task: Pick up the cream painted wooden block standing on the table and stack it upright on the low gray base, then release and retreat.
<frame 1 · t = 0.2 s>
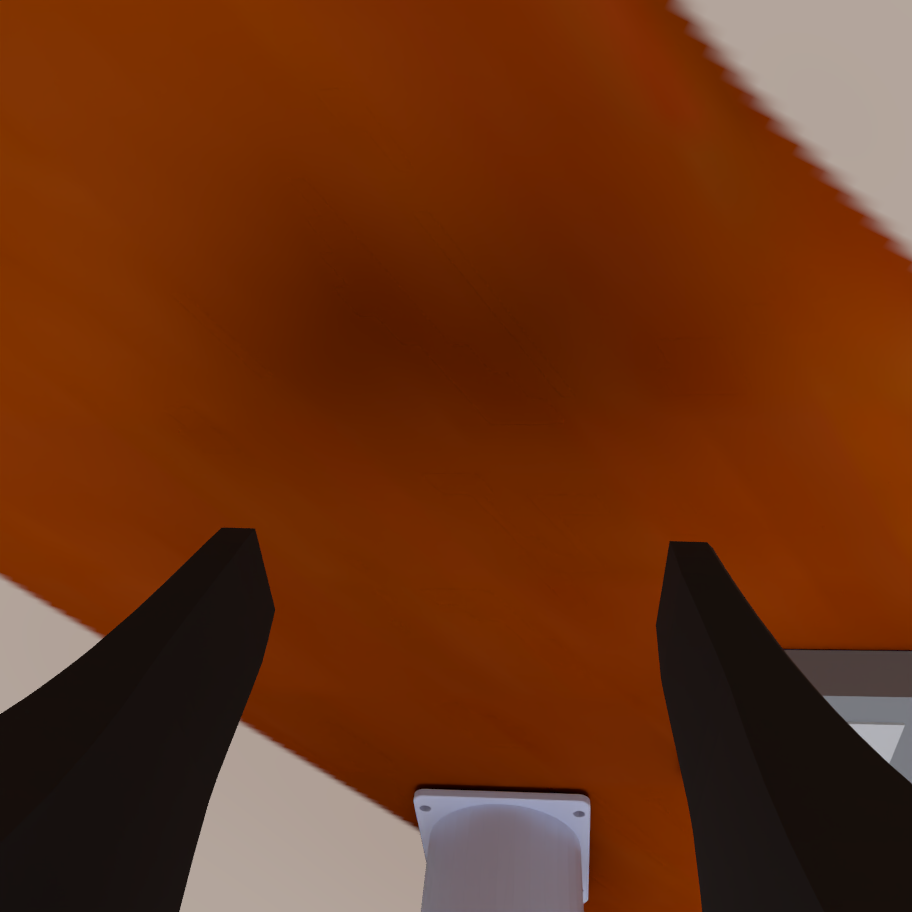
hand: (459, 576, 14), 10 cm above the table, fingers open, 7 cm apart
gray base: (797, 717, 30), on the table
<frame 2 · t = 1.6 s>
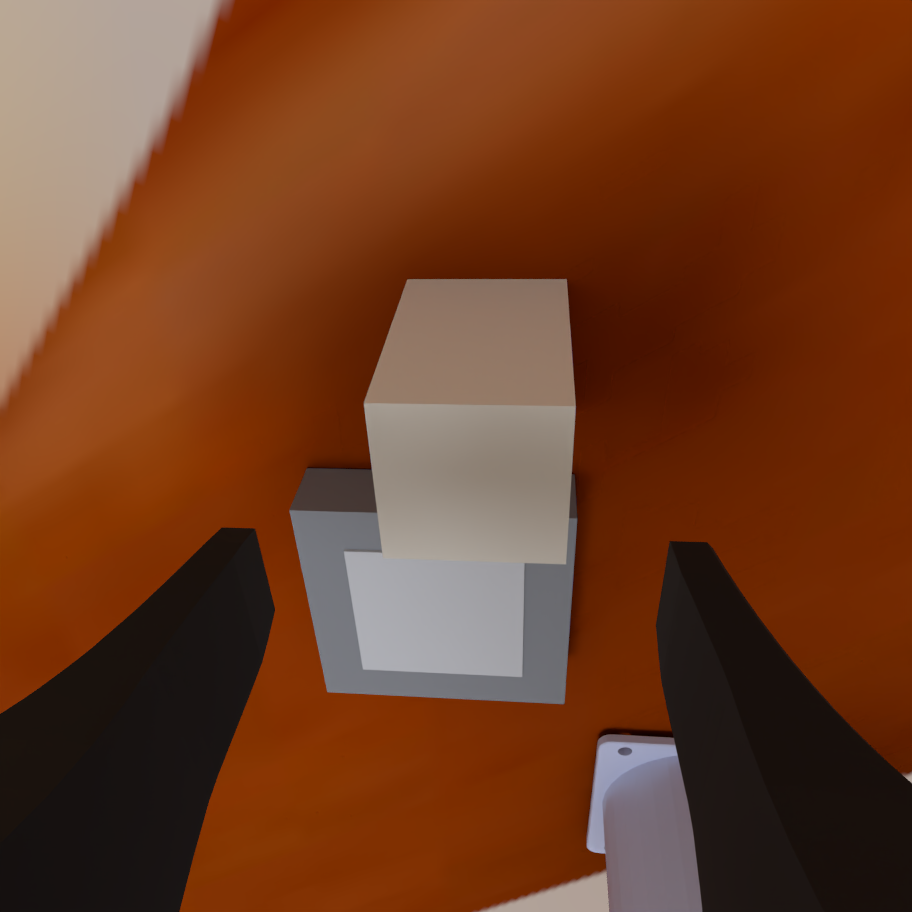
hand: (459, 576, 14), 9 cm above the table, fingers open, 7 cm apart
gray base: (444, 569, 25), on the table
cream block: (487, 350, 21), on the table
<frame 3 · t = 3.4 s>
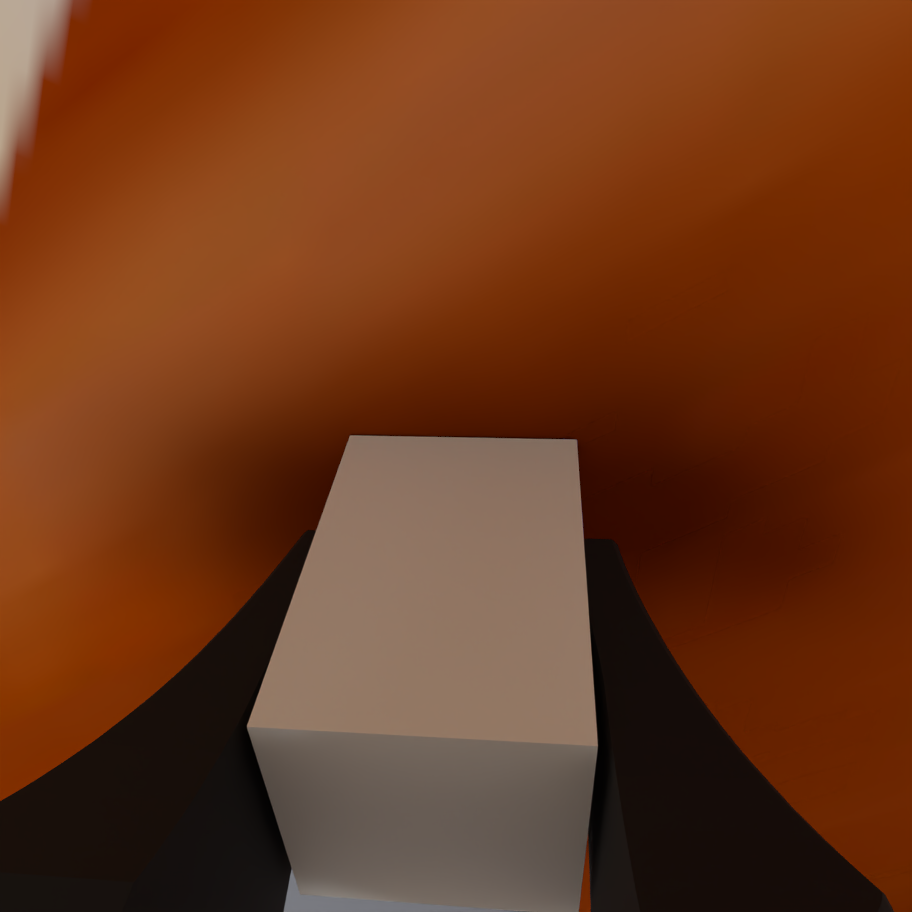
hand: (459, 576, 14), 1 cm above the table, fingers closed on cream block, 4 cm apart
gray base: (415, 764, 20), on the table
cream block: (465, 524, 15), on the table, touching gripper
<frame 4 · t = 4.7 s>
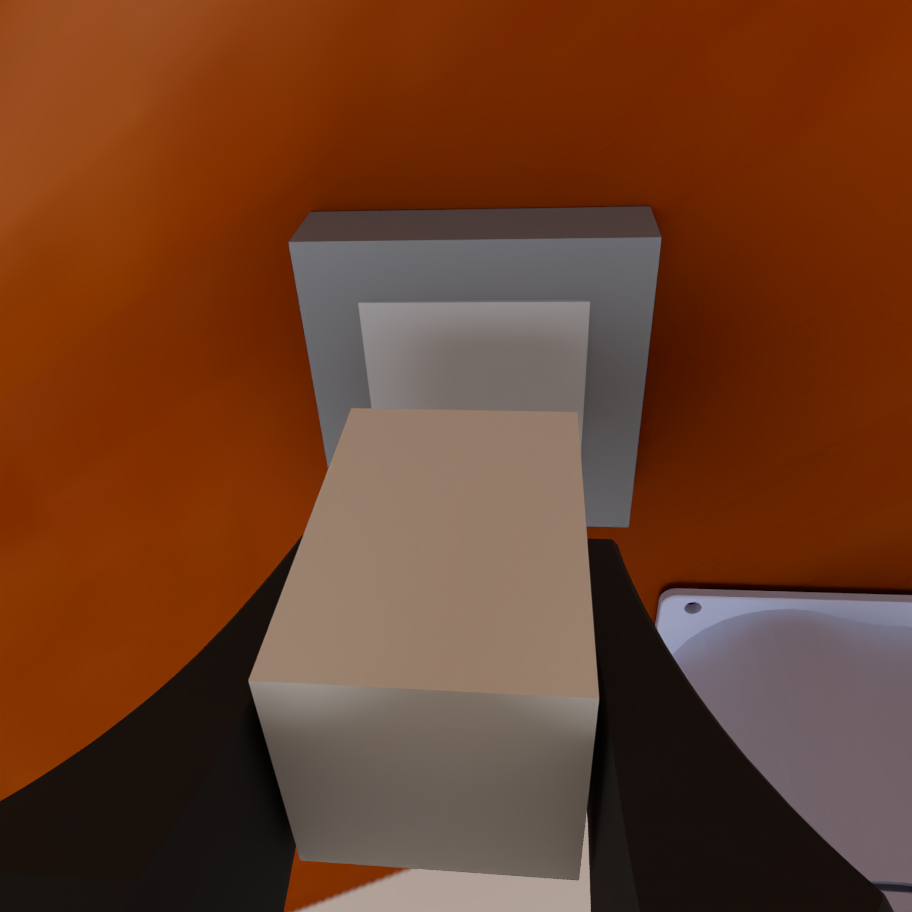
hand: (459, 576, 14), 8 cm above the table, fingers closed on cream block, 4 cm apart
gray base: (481, 359, 20), on the table
cream block: (466, 499, 15), point 7 cm above the table, touching gripper
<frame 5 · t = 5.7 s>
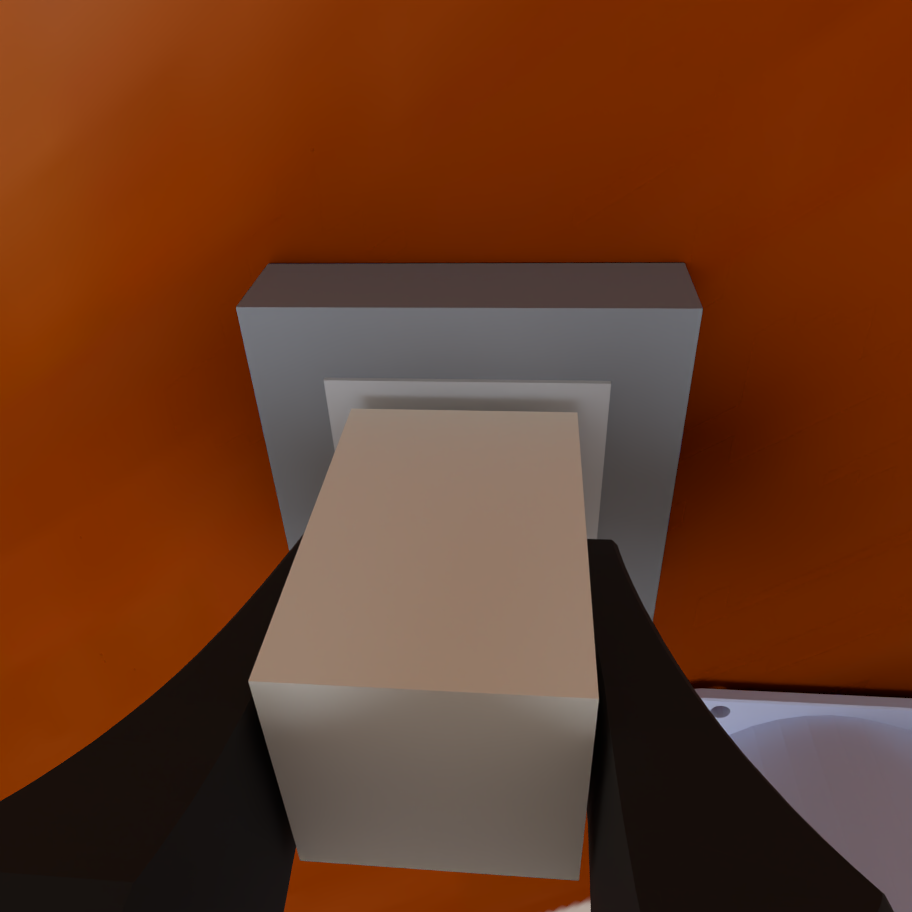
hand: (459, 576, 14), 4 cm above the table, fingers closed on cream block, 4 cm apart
gray base: (475, 436, 17), on the table
cream block: (465, 499, 15), point 3 cm above the table, touching gripper
when the fingers open (4 cm above the table, at t = 6.3 s): cream block stays where it is, resting on gray base.
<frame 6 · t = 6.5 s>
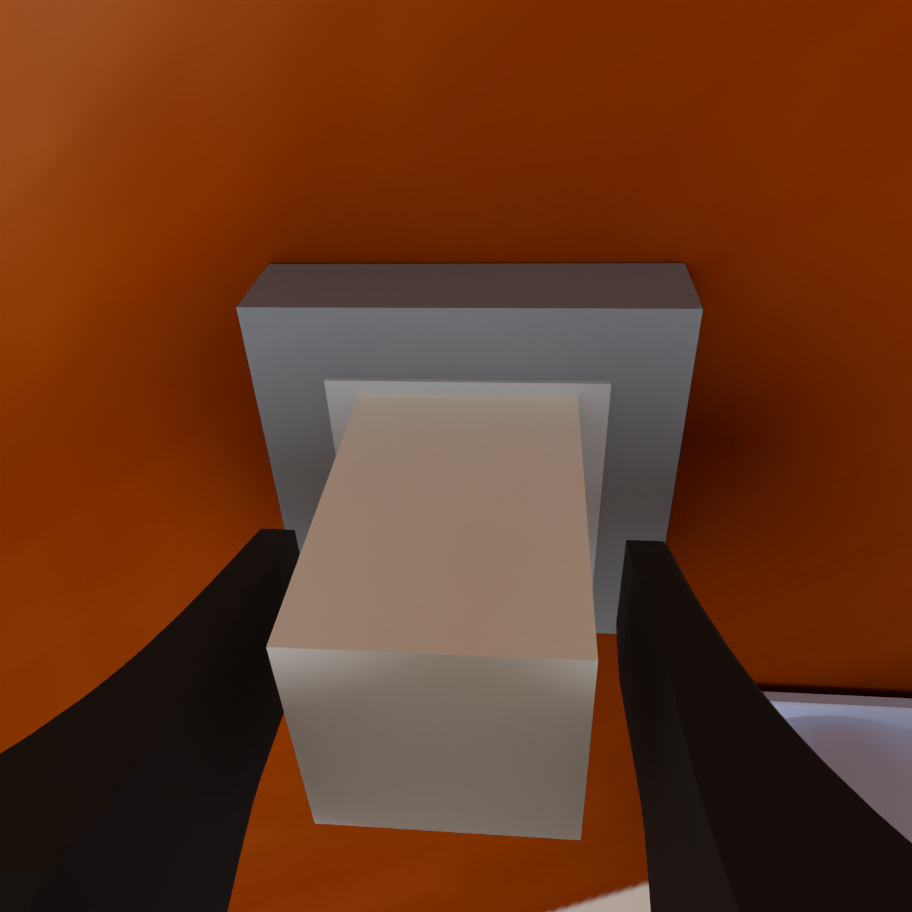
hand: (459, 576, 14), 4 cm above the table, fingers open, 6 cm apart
gray base: (476, 436, 17), on the table
cream block: (470, 481, 15), point 2 cm above the table, touching gray base
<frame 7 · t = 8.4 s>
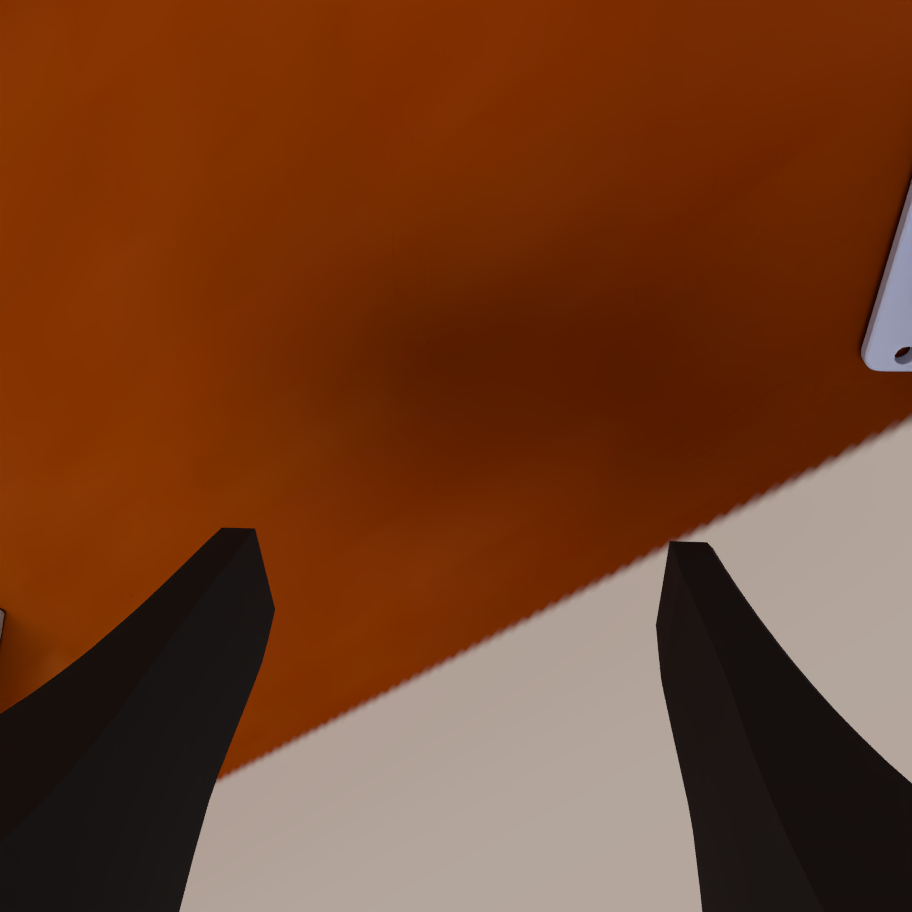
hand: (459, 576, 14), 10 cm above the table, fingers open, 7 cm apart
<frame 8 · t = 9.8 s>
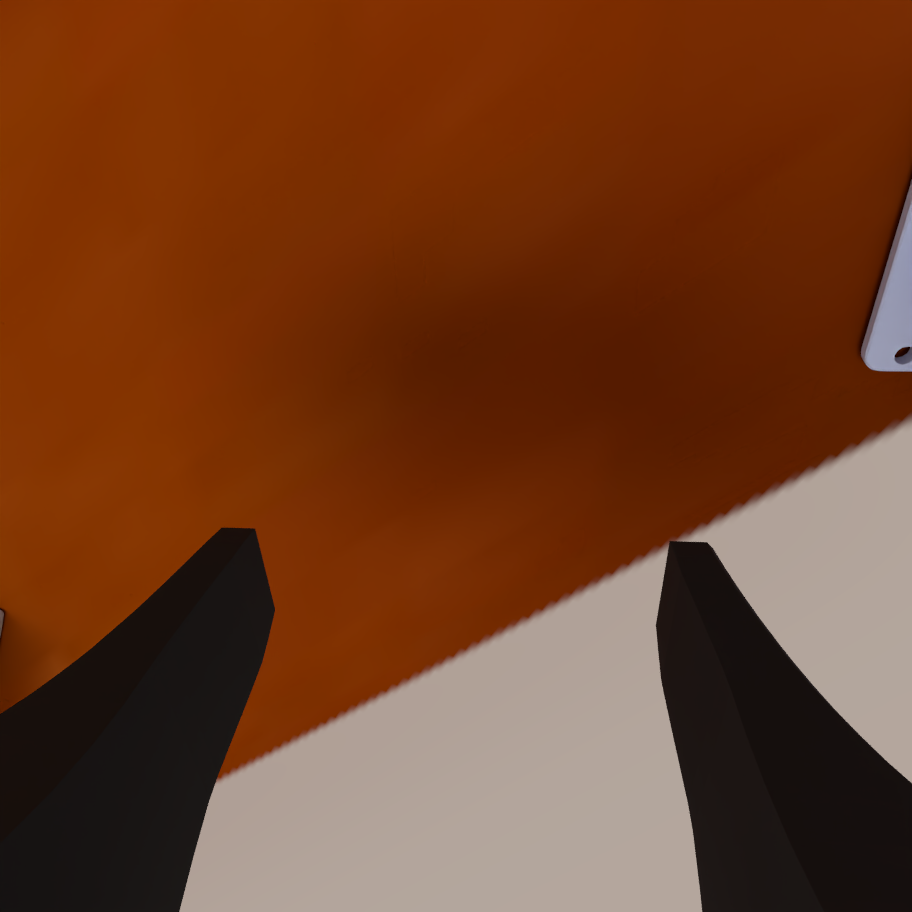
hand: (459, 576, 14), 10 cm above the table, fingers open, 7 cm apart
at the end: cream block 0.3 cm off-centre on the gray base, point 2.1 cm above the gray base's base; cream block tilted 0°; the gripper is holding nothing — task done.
